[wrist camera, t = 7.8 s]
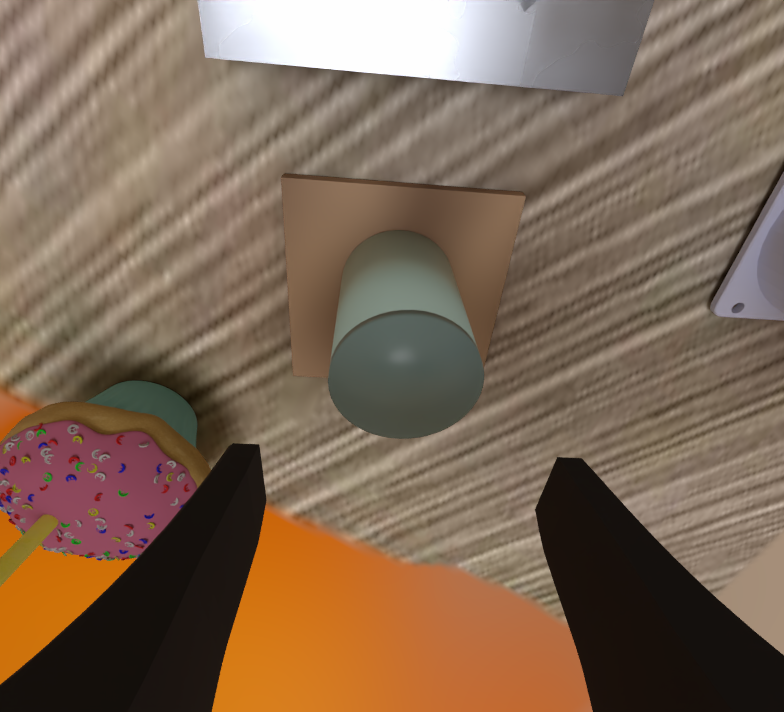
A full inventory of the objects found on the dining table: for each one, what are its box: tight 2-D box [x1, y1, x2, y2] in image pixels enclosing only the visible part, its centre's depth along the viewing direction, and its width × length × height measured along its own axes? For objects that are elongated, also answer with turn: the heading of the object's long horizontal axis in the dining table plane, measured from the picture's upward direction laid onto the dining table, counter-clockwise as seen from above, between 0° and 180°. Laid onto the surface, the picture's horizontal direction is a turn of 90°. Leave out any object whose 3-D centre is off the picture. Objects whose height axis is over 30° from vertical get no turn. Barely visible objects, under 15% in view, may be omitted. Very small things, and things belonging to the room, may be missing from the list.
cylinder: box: [328, 230, 484, 439], centre depth 16 cm, size 5×5×6 cm
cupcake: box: [0, 381, 211, 586], centre depth 18 cm, size 9×8×12 cm
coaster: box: [281, 174, 526, 378], centre depth 19 cm, size 9×9×1 cm
